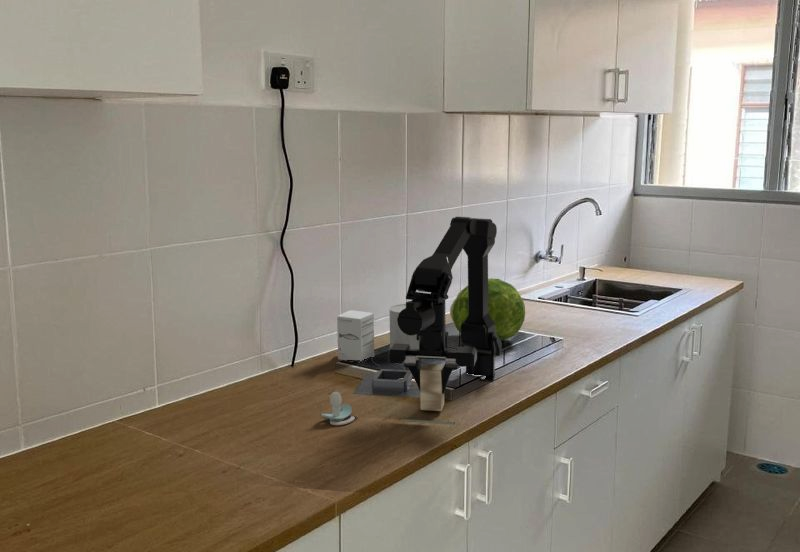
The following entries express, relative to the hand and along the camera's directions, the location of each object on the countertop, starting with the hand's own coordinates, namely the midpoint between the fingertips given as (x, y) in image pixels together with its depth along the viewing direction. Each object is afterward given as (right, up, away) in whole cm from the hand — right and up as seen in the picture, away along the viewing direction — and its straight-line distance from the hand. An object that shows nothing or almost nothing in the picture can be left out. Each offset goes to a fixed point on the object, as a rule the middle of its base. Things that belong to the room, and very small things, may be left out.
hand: (432, 392), depth 176 cm
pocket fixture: (-9, -1, +17) cm, 19 cm away
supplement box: (-19, +3, +39) cm, 43 cm away
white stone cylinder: (-5, +4, +45) cm, 46 cm away
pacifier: (-20, -6, -2) cm, 21 cm away
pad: (0, -5, +1) cm, 5 cm away
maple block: (0, -3, +1) cm, 3 cm away
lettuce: (+16, +7, +54) cm, 56 cm away
